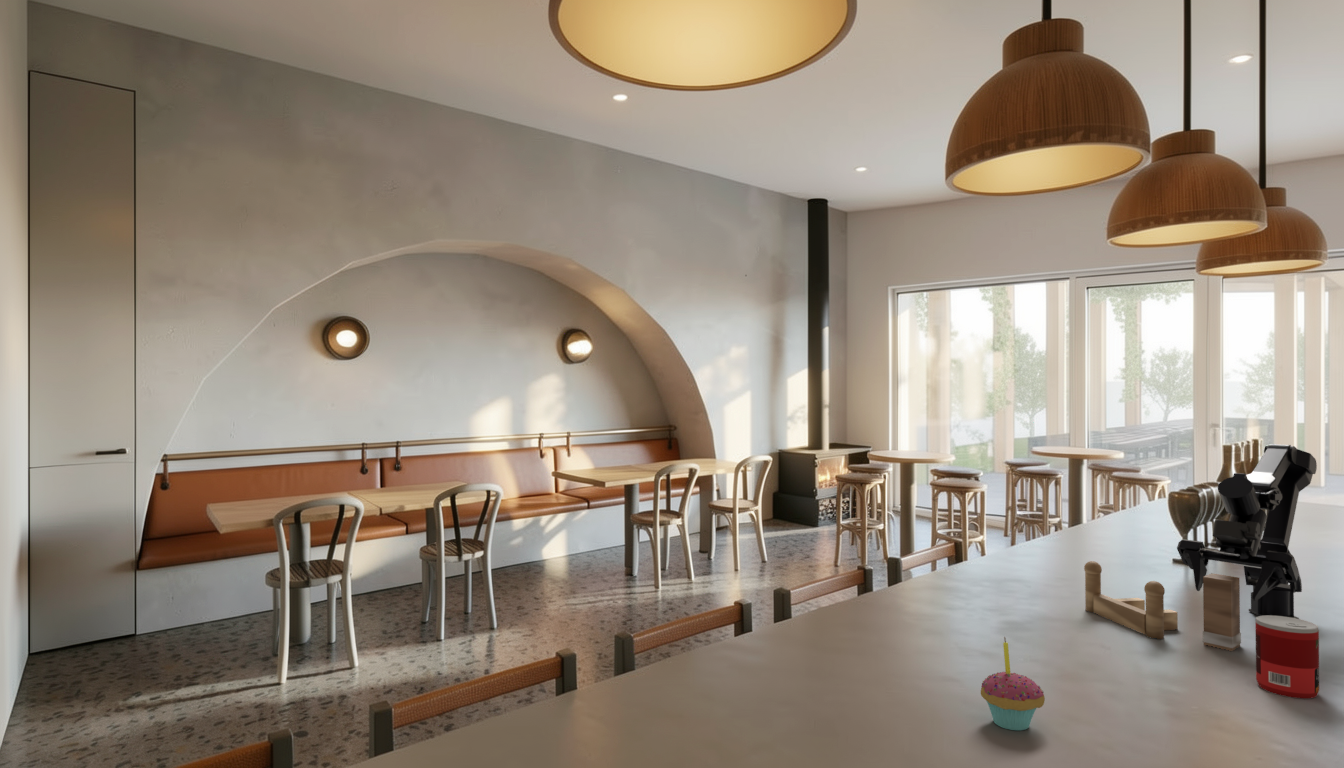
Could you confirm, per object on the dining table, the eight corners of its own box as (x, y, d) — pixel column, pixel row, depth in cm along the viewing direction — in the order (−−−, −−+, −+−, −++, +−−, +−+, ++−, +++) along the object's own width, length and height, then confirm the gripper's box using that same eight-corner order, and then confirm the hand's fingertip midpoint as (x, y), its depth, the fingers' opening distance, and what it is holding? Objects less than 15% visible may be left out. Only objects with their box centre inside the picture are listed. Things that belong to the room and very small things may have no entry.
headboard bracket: (1120, 607, 171) (1120, 558, 171) (1198, 637, 150) (1197, 582, 150) (1081, 608, 170) (1080, 559, 170) (1153, 639, 149) (1153, 583, 149)
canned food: (1330, 701, 119) (1330, 630, 119) (1272, 697, 121) (1271, 627, 121) (1301, 683, 127) (1300, 616, 127) (1246, 679, 128) (1245, 613, 128)
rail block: (1211, 640, 149) (1211, 573, 149) (1240, 646, 145) (1240, 577, 145) (1203, 644, 146) (1202, 576, 146) (1232, 651, 142) (1231, 581, 142)
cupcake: (970, 712, 115) (969, 632, 115) (1024, 710, 116) (1023, 631, 116) (999, 738, 107) (998, 652, 107) (1057, 736, 107) (1056, 650, 108)
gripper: (1180, 499, 158) (1158, 560, 151) (1293, 510, 143) (1275, 578, 136) (1194, 534, 162) (1174, 594, 155) (1306, 548, 147) (1289, 615, 141)
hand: (1224, 594), depth 147 cm, fingers open, 9 cm apart
